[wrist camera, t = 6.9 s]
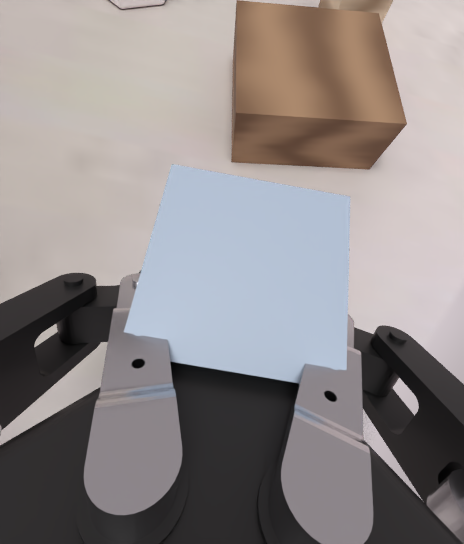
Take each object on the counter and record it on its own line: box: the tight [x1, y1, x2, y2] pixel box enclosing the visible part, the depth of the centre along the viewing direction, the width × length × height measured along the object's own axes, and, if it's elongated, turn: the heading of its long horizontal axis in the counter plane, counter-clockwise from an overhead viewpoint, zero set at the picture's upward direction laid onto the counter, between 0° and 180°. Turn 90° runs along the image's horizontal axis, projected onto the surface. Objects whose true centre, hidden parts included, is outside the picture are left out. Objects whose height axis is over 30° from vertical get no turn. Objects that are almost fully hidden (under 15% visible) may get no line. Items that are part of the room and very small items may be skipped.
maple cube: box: [318, 0, 393, 23], centre depth 26 cm, size 5×5×5 cm
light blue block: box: [124, 164, 350, 383], centre depth 12 cm, size 5×5×12 cm
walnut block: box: [232, 0, 407, 169], centre depth 22 cm, size 12×12×5 cm
